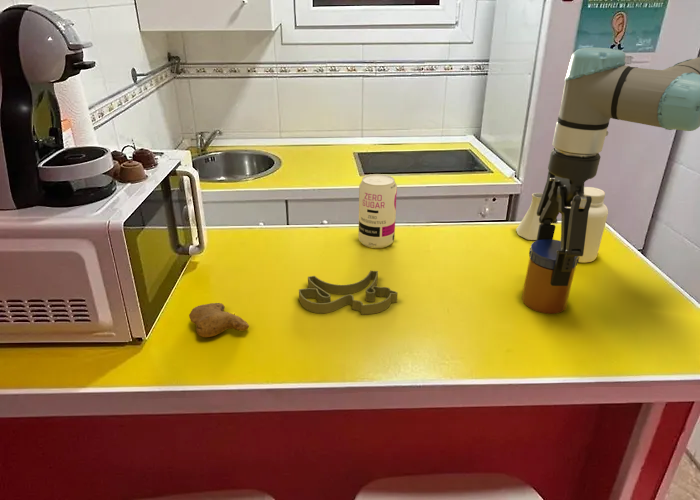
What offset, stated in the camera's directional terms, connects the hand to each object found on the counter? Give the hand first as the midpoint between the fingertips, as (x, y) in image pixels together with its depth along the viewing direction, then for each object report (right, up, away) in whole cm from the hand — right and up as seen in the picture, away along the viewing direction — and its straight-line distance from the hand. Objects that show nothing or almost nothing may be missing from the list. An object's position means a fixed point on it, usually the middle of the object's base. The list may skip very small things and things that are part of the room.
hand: (549, 269), depth 94 cm
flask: (+7, +7, +29) cm, 30 cm away
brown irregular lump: (-59, -9, -4) cm, 60 cm away
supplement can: (-30, +5, +25) cm, 40 cm away
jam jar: (0, -6, +3) cm, 7 cm away
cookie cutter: (-37, -6, +4) cm, 38 cm away
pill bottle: (+14, +2, +20) cm, 24 cm away
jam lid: (0, +3, -2) cm, 4 cm away
